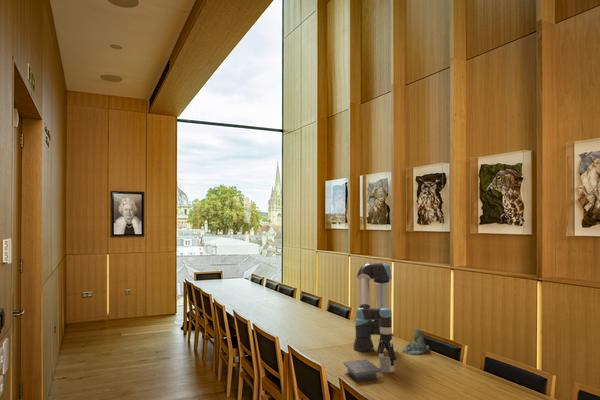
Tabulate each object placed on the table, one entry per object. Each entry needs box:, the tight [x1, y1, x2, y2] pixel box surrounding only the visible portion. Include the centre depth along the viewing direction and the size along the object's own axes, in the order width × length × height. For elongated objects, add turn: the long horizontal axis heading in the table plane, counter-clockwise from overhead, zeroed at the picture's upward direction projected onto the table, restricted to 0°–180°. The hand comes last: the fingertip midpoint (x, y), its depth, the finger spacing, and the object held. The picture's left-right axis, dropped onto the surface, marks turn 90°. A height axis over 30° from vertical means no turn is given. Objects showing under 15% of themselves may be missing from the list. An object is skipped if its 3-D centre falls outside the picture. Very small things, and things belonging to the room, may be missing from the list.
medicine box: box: [379, 356, 394, 374], centre depth 266 cm, size 8×4×9 cm, turn 92°
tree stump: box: [401, 328, 430, 356], centre depth 309 cm, size 18×20×18 cm
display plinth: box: [343, 358, 381, 382], centre depth 259 cm, size 20×16×6 cm
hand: (386, 367), depth 266 cm, fingers open, 13 cm apart
